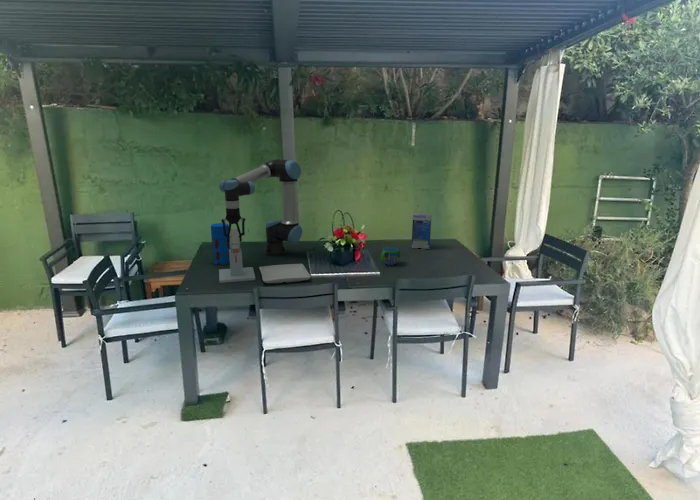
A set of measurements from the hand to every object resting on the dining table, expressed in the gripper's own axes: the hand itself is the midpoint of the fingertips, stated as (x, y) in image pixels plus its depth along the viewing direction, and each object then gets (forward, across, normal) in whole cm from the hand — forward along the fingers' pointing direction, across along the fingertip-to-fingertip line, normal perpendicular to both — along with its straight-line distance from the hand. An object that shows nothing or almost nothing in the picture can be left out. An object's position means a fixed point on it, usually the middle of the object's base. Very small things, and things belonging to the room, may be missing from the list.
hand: (235, 247), depth 257 cm
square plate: (+18, -27, +8) cm, 34 cm away
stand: (+18, 0, 0) cm, 18 cm away
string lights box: (+18, -133, -30) cm, 138 cm away
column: (+16, 0, 0) cm, 16 cm away
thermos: (+18, +8, -29) cm, 35 cm away
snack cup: (+18, -97, +1) cm, 99 cm away
